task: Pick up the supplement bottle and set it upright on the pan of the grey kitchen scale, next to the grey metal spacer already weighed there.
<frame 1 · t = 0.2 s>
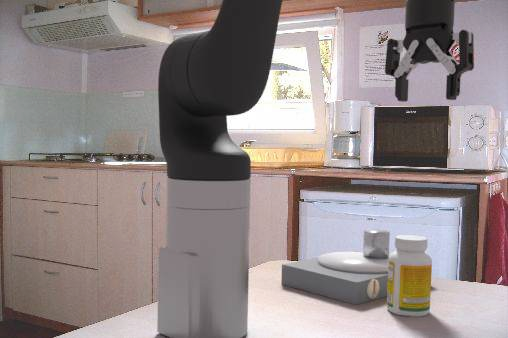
hand: (426, 100, 93), 29 cm above the table, fingers open, 8 cm apart
scale: (355, 284, 88), on the table
spacer: (375, 256, 91), point 4 cm above the table, touching scale
supplement bottle: (408, 312, 74), on the table
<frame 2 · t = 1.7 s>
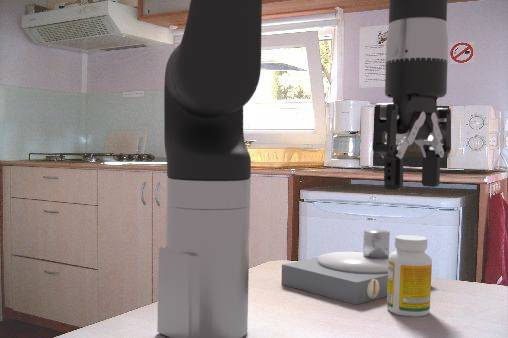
hand: (412, 187, 73), 16 cm above the table, fingers open, 8 cm apart
nothing on the table moved.
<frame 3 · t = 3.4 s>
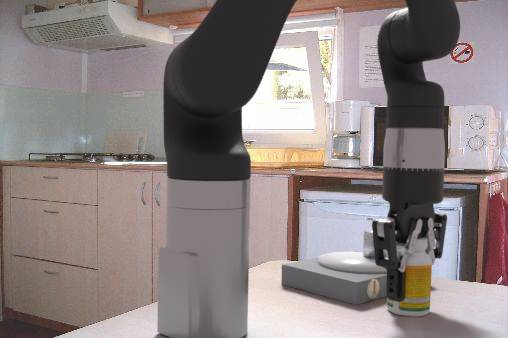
hand: (409, 295, 74), 2 cm above the table, fingers closed on supplement bottle, 5 cm apart
supplement bottle: (408, 312, 74), on the table, touching gripper
everything else where it was.
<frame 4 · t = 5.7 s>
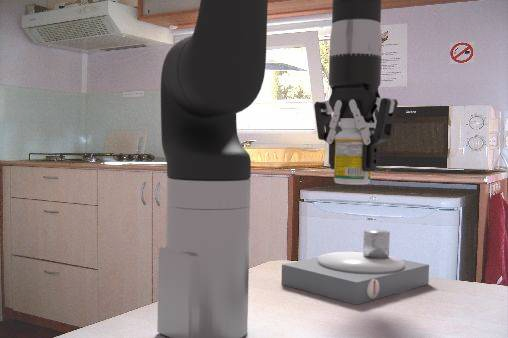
hand: (352, 169, 85), 17 cm above the table, fingers closed on supplement bottle, 5 cm apart
supplement bottle: (352, 184, 85), point 15 cm above the table, touching gripper
everything else where it was.
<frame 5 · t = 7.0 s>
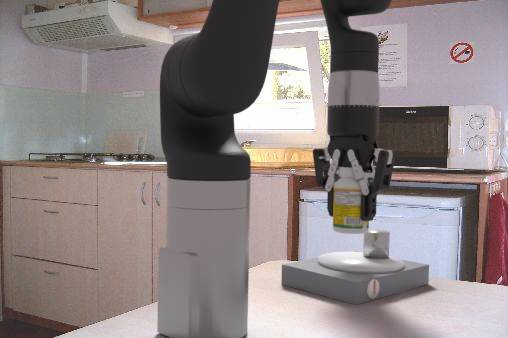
hand: (350, 217, 86), 10 cm above the table, fingers closed on supplement bottle, 5 cm apart
supplement bottle: (350, 232, 86), point 8 cm above the table, touching gripper
everything else where it was.
when the fingers open (7 cm above the table, at t = 8.1 s): supplement bottle drops 2 cm, resting on scale.
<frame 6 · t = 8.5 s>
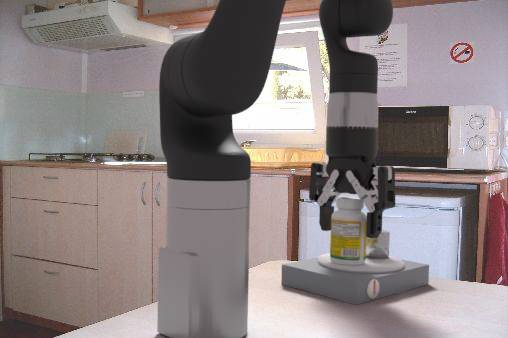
hand: (348, 233, 86), 8 cm above the table, fingers open, 8 cm apart
supplement bottle: (347, 263, 86), point 3 cm above the table, touching scale
everything else where it was.
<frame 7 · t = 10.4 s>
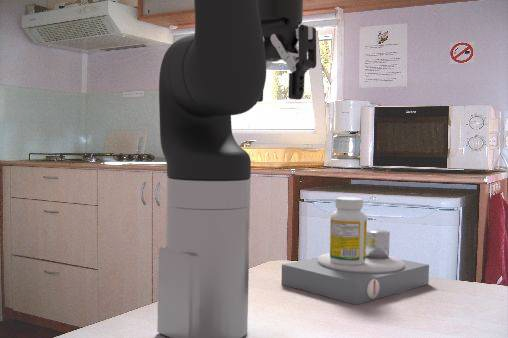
hand: (275, 100, 87), 28 cm above the table, fingers open, 8 cm apart
nothing on the table moved.
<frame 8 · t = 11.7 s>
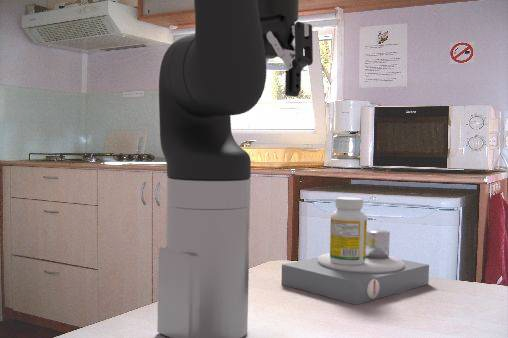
hand: (271, 97, 88), 28 cm above the table, fingers open, 8 cm apart
nothing on the table moved.
at the end: supplement bottle inside the target area on the scale (0.4 cm from its centre), point 3.4 cm above the scale's base; supplement bottle tilted 1°; spacer moved 0.0 cm from its start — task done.
